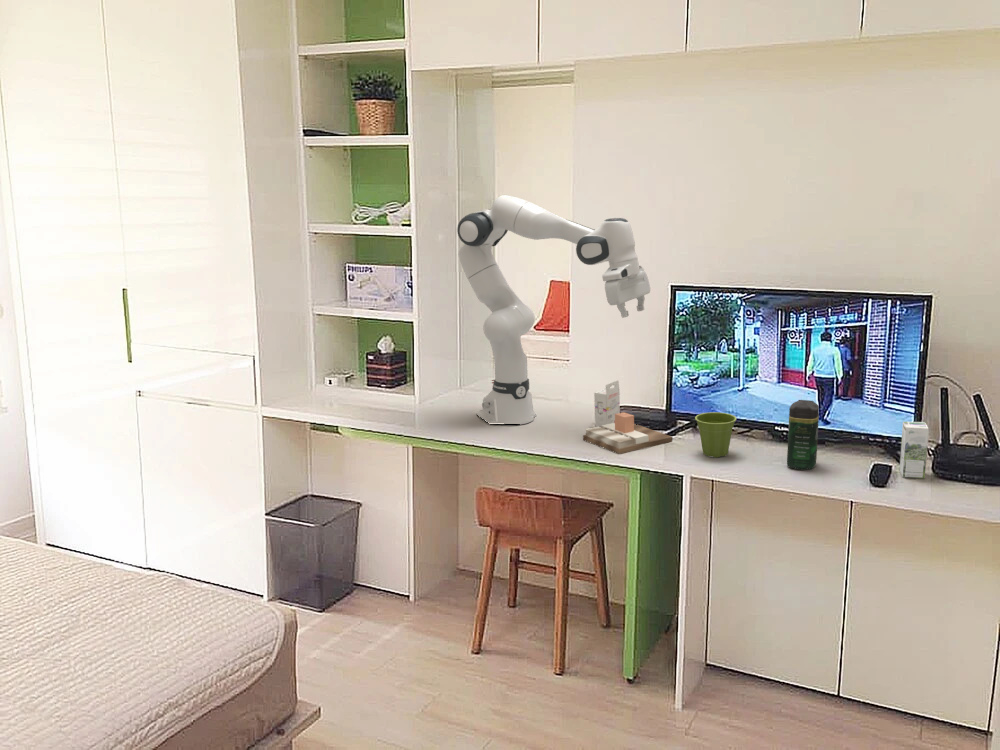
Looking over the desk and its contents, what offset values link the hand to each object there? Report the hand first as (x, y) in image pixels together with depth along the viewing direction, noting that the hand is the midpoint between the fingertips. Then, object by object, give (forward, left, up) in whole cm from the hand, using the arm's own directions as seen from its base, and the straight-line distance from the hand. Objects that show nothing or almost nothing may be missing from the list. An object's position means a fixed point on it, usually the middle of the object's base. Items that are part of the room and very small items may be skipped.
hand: (633, 313), depth 291 cm
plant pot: (+30, +6, -39) cm, 50 cm away
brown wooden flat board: (+4, -6, -39) cm, 40 cm away
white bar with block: (+4, -7, -37) cm, 38 cm away
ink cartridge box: (-14, 0, -39) cm, 41 cm away
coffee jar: (+52, +18, -39) cm, 68 cm away
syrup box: (+75, +35, -39) cm, 92 cm away
